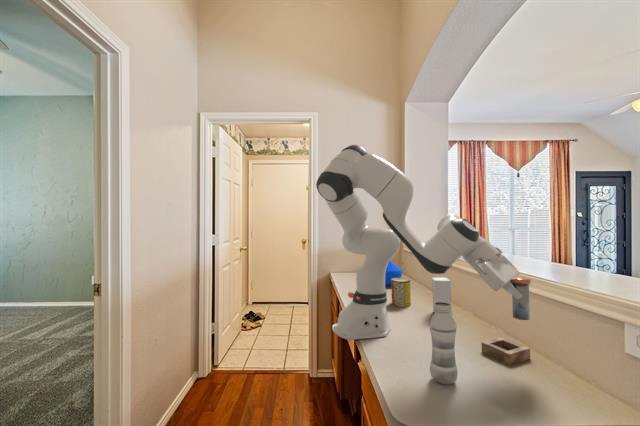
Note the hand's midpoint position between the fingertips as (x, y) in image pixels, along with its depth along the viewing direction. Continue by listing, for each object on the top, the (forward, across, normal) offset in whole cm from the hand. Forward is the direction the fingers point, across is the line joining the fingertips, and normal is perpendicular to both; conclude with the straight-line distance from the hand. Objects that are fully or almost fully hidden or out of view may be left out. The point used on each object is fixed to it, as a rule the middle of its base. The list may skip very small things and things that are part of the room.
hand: (522, 295), depth 81 cm
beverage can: (-24, +32, +54) cm, 67 cm away
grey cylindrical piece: (+4, 0, +5) cm, 6 cm away
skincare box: (-10, +29, +39) cm, 50 cm away
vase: (-44, +64, +73) cm, 107 cm away
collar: (+10, +5, +18) cm, 22 cm away
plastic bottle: (+4, -22, +24) cm, 33 cm away
